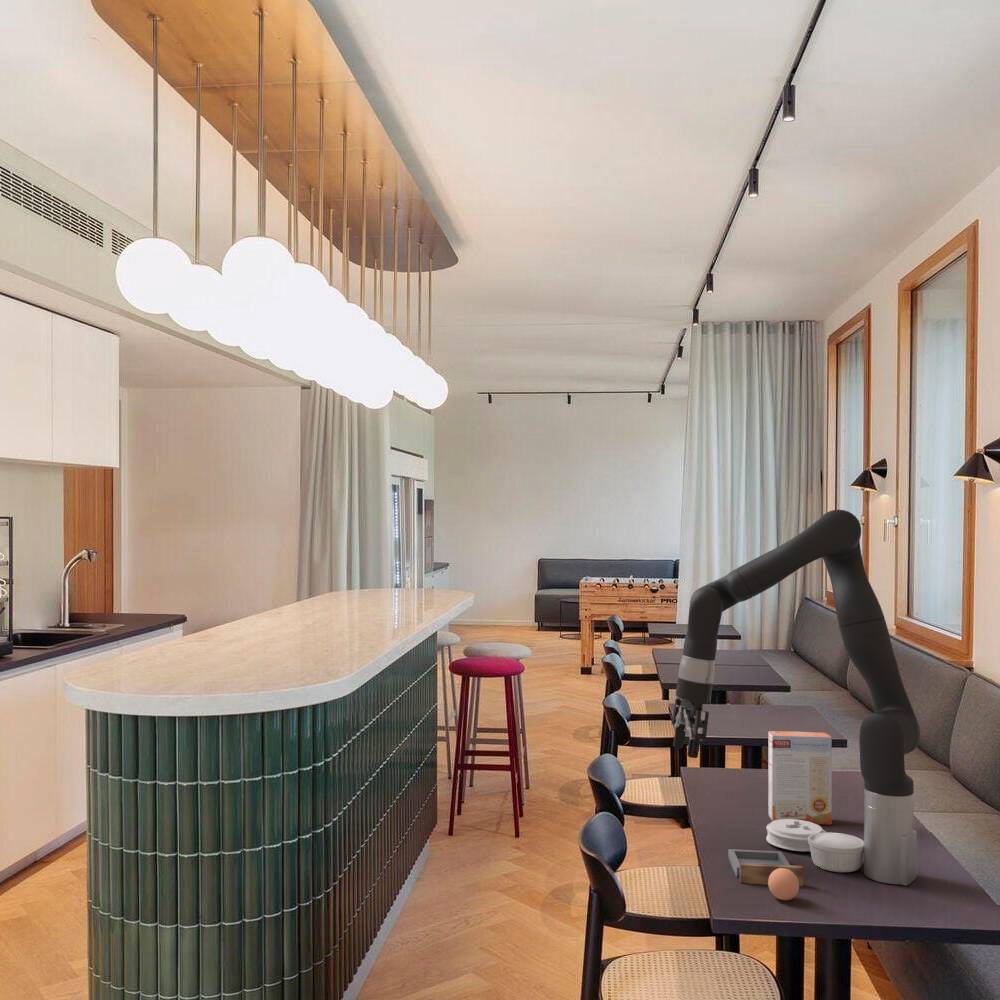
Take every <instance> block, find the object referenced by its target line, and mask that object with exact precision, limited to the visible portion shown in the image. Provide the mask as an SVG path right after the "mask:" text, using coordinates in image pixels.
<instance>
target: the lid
mask: <svg viewBox="0 0 1000 1000" xmlns="http://www.w3.org/2000/svg"><path fill="white" fill-rule="evenodd" d="M765 827H766V831H767V835H766V836H765V838H766V842H768V844H770V845H773V846H774V847H776V848H781V849H783V850H788V851H796V852H811V851H810V844H809V843H808V837H809V836H810V835H812V834H816V833H827V831H826V830H824V829H823V828H822V827H821V825H820V824H814V823H812V822H808V821H803V820H796V819H779V820H775V821H772V820H771V821H770V823H768V824H767V825H766V826H765Z"/></svg>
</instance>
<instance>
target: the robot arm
mask: <svg viewBox="0 0 1000 1000" xmlns="http://www.w3.org/2000/svg"><path fill="white" fill-rule="evenodd" d="M861 536H862V525H861V523H860V520H859V519H858V518H857V516H856V515H855V514H853V513H852V512H850V511H848V510H843V509H834V510H829V511H827V512H826V513H824V514H822V516H821V517H819V519H817V520H816V521H814V523H812V524H811V525H809V526H808V527H807V528H805V529H804V530H803V531H802V532H800V533H798V534H797V535H796V536H794V537H792V538H791V539H790V540H788V541H786V542H785V543H783V544H781V545H779V546H777V547H775V548H773V549H772V550H770V551H767V552H766V553H763V554H761V555H760V556H757V557H756V558H754V559H752V560H750V561H748V562H745V563H744V564H742V565H740V566H739V567H737V568H735V569H733V570H732V571H730V572H729V573H727V574H726V575H724V576H723V577H720V578H718V579H716V580H715V579H714V581H711V582H709V583H707V584H705V585H703V586H701V587H699V588H697V589H696V590H695V591H694V592H693V593H692V595H691V597H690V600H689V606H688V607H689V608H688V618H687V631H686V633H685V637H684V642H683V648H682V656H681V660H680V663H679V669H678V674H677V675H678V676H677V681H676V689H675V696H676V698H675V700H674V704H673V705H674V706H673V713H672V716H671V717H672V719H671V725H673V728H674V735H673V736H674V737H673V743H672V744H673V747H675V748H678V749H683V748H684V745H685V741H686V739H685V738H686V734H687V733H686V732H687V731H688V736H689V739H688V743H687V744H688V746H687V752H686V756H687V757H688V758H692V759H697V758H698V757H699V751H700V743H701V741H706V739H707V732H708V723H709V715H710V714H709V713H710V712H709V711H707V710H706V711H705V710H703V707H704V706H703V705H704V704H709V703H710V702H711V699H712V692H713V691H712V690H713V685H714V684H713V683H714V678H715V672H716V671H715V670H716V668H715V667H716V666H715V663H716V656H717V648H718V633H719V629H720V626H721V625H720V624H721V620H722V616H723V612H725V611H726V610H728V609H730V608H731V607H733V606H735V605H737V604H739V603H741V602H745V601H748V600H750V599H752V598H753V597H756V596H758V595H759V594H762V593H763V592H765V591H767V590H769V589H771V588H772V587H774V586H775V585H778V584H779V583H780V582H782V581H783V580H785V579H786V578H787V577H789V576H791V575H792V574H794V573H795V572H796V571H798V570H799V569H801V568H803V567H805V566H807V565H809V564H810V563H812V562H815V561H816V560H819V559H821V558H822V560H823V562H824V565H825V568H826V570H827V574H828V575H829V579H830V583H831V587H832V596H833V602H834V609H835V614H836V618H837V623H838V627H839V631H840V636H841V640H842V643H843V646H844V649H845V652H846V654H847V655H848V658H849V659H850V661H851V662H852V664H853V665H854V667H855V668H856V669H857V671H858V672H859V673H860V676H861V677H862V679H863V680H864V681H865V683H866V685H867V688H868V690H869V692H870V696H871V700H872V703H873V708H874V711H875V712H872V713H870V714H868V715H866V716H865V718H864V719H863V720H862V722H861V725H860V728H859V734H858V735H859V739H858V740H859V741H858V742H859V743H858V744H859V766H860V773H861V776H862V778H863V782H864V785H863V786H864V788H863V789H864V790H863V791H864V792H863V793H864V795H863V797H864V798H863V800H864V801H863V809H864V810H863V841H864V853H863V874H864V876H866V877H867V878H869V879H871V880H873V881H876V882H879V883H882V884H883V883H884V884H890V885H901V886H906V887H907V886H909V885H910V884H911V883H912V882H914V881H915V880H916V879H917V873H918V869H917V868H918V866H917V862H918V859H917V858H918V857H917V856H918V844H917V843H918V839H917V838H918V832H917V830H916V829H914V799H915V796H914V794H915V793H914V792H915V791H914V790H915V789H914V787H915V786H914V780H913V778H912V777H911V776H909V775H908V774H907V772H906V768H905V767H906V766H905V755H906V754H907V755H908V754H909V753H911V752H913V751H914V750H916V749H917V747H918V746H919V743H920V740H921V730H920V725H919V722H918V719H917V717H916V714H915V712H914V708H913V705H912V703H911V701H910V699H909V697H908V694H907V691H906V689H905V686H904V683H903V680H902V677H901V673H900V669H899V665H898V661H897V659H896V655H895V652H894V648H893V646H892V641H891V640H892V639H891V636H890V632H889V628H888V625H887V622H886V618H885V615H884V613H883V610H882V609H883V608H882V607H881V604H880V602H879V600H878V598H877V595H876V593H875V591H874V589H873V586H872V585H871V583H870V581H869V579H868V577H867V576H868V575H867V573H866V569H865V564H864V561H863V560H864V559H863V555H862V549H861V543H860V542H861ZM686 730H687V731H686Z"/></svg>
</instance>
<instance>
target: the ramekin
mask: <svg viewBox="0 0 1000 1000" xmlns="http://www.w3.org/2000/svg"><path fill="white" fill-rule="evenodd" d="M808 843H809V844H810V851H809V852H810V855H811V860H812V862H813V864H814V865H815V866H816V867H817V866H818V868H819V867H820V869H822V870H826V871H829V872H834V873H851V872H852V873H853V872H856V871H858V870H859V869H860V868H861V867H862V864H863V860H864V839H862V838H860V837H857V836H854V835H851V834H847V833H841V832H840V833H839V832H826V833H816V834H812V835H810V836H809V837H808Z"/></svg>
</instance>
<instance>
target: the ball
mask: <svg viewBox="0 0 1000 1000" xmlns="http://www.w3.org/2000/svg"><path fill="white" fill-rule="evenodd" d="M767 885H768V888H769V892H770V893H771V894H772V895H773V896H774V897H775V898H776V899H778V900H780V901H790V900H792V899H794V898H795V897H796V896H797V894H798V893H799V890H800V886H799V881H798V879H797V877H796V875H795V874H794V873H793V872H792V871H790V870H788V869H785V868H779V869H776V870H774V871H773V872H772V873H771V874H770V876H769V879H768V884H767Z"/></svg>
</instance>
